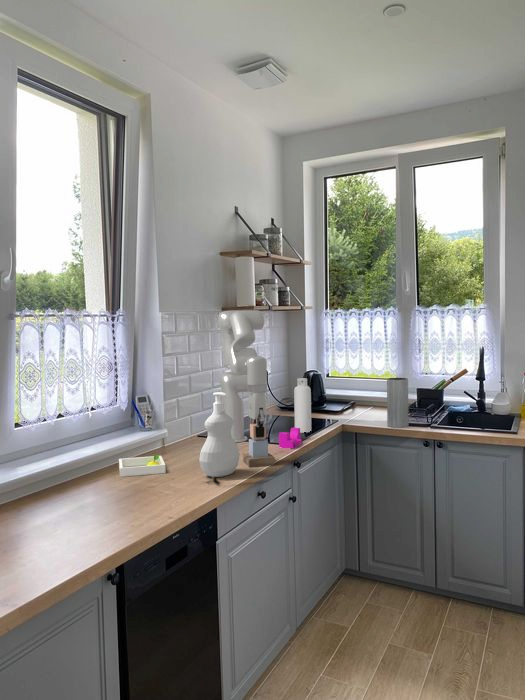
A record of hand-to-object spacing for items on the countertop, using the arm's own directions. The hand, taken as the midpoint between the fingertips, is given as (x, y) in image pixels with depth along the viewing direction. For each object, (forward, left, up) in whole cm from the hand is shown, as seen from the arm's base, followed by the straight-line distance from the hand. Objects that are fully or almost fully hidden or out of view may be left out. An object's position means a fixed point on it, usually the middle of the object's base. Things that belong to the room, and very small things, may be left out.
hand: (258, 435), depth 215 cm
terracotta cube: (0, 0, -1) cm, 1 cm away
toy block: (-24, +22, -11) cm, 34 cm away
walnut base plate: (0, 0, -11) cm, 11 cm away
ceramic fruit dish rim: (-5, -44, -11) cm, 46 cm away
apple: (-9, -40, -15) cm, 43 cm away
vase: (-35, +80, -11) cm, 88 cm away
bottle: (-46, +35, -11) cm, 59 cm away
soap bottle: (+12, -17, -11) cm, 24 cm away
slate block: (0, 0, -8) cm, 8 cm away
